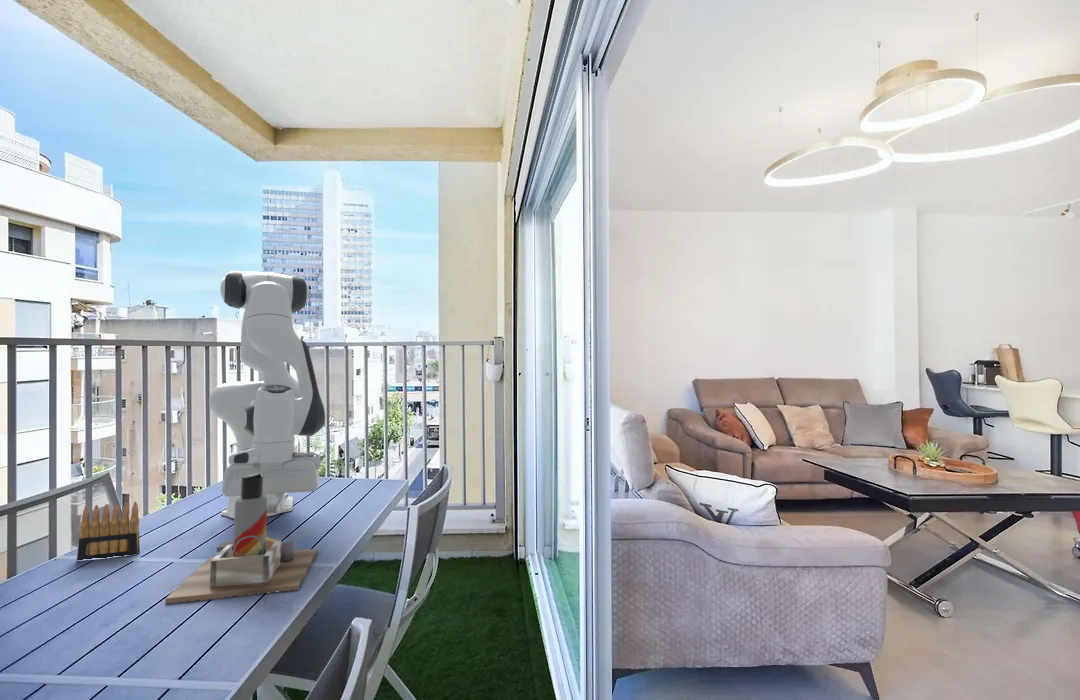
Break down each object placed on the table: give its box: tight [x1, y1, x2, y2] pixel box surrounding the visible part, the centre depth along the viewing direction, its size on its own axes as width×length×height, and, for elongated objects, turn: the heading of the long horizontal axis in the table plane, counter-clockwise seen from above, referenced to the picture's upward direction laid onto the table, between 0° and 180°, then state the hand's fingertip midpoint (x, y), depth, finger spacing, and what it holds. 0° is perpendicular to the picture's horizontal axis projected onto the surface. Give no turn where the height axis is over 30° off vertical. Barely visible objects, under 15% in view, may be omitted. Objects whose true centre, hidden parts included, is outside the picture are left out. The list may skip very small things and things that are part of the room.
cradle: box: [164, 539, 318, 604], centre depth 101 cm, size 20×22×6 cm
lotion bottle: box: [233, 474, 267, 557], centre depth 99 cm, size 6×6×20 cm
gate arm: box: [265, 536, 295, 561], centre depth 109 cm, size 13×2×4 cm, turn 60°
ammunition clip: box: [76, 501, 141, 561], centre depth 110 cm, size 11×2×12 cm, turn 113°
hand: (271, 512), depth 115 cm, fingers closed
